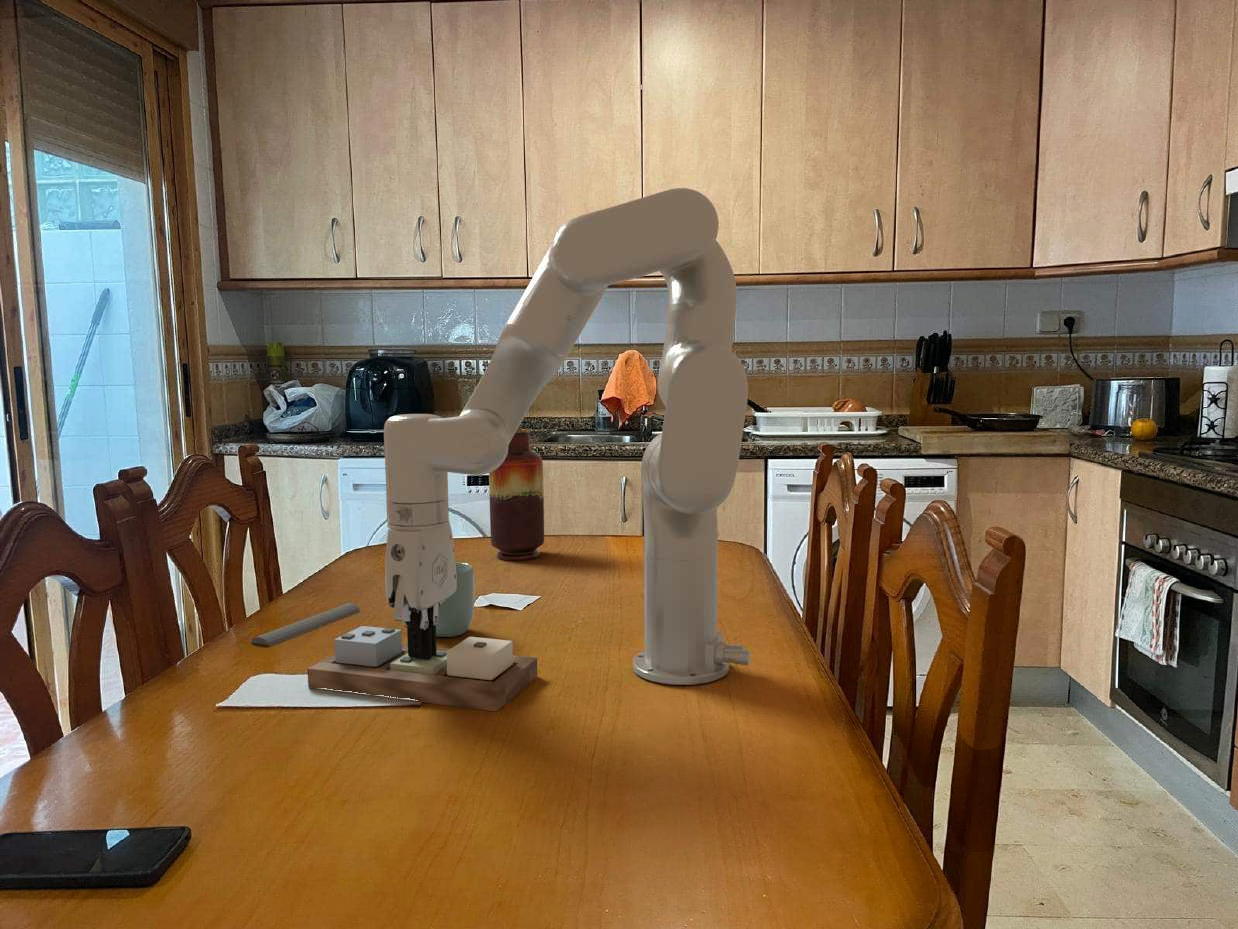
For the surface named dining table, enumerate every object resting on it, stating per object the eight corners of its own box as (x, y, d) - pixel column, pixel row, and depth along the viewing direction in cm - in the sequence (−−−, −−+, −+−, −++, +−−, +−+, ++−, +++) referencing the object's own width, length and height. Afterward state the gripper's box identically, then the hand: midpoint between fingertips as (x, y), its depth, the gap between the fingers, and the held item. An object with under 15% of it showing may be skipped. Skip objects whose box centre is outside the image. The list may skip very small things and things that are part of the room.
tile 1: (513, 663, 113) (512, 638, 113) (491, 680, 108) (491, 653, 107) (470, 659, 115) (469, 634, 115) (447, 675, 110) (446, 649, 109)
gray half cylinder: (248, 647, 130) (247, 635, 130) (341, 612, 148) (341, 601, 148) (270, 651, 129) (269, 639, 129) (362, 615, 146) (361, 604, 146)
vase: (555, 553, 188) (553, 429, 185) (522, 564, 179) (519, 433, 175) (513, 548, 194) (511, 427, 191) (479, 558, 184) (476, 431, 181)
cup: (463, 643, 130) (461, 575, 129) (413, 640, 131) (411, 573, 130) (482, 627, 137) (480, 563, 136) (434, 624, 139) (432, 561, 138)
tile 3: (402, 652, 118) (401, 627, 118) (376, 667, 113) (375, 641, 112) (362, 647, 120) (361, 623, 120) (335, 662, 114) (334, 637, 114)
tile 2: (456, 675, 116) (456, 650, 116) (433, 691, 110) (432, 665, 110) (416, 670, 118) (415, 646, 118) (390, 686, 112) (389, 661, 112)
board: (537, 676, 116) (537, 657, 116) (496, 711, 104) (495, 690, 104) (363, 657, 124) (363, 639, 124) (308, 687, 113) (307, 668, 112)
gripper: (412, 526, 103) (417, 680, 106) (473, 505, 117) (476, 641, 120) (356, 522, 106) (362, 673, 108) (422, 503, 120) (426, 636, 122)
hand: (422, 656), depth 114 cm, fingers closed
